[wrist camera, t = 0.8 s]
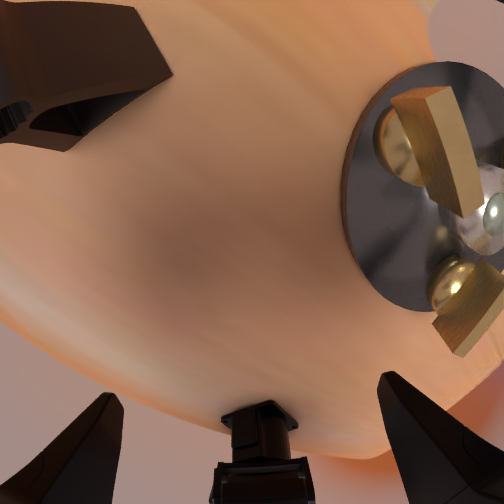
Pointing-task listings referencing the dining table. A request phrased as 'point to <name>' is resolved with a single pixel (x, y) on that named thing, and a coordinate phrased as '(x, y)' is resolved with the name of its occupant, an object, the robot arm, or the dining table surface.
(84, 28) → the phone stand
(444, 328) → the wing knob
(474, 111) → the levelling base
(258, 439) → the robot arm
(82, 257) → the dining table surface
